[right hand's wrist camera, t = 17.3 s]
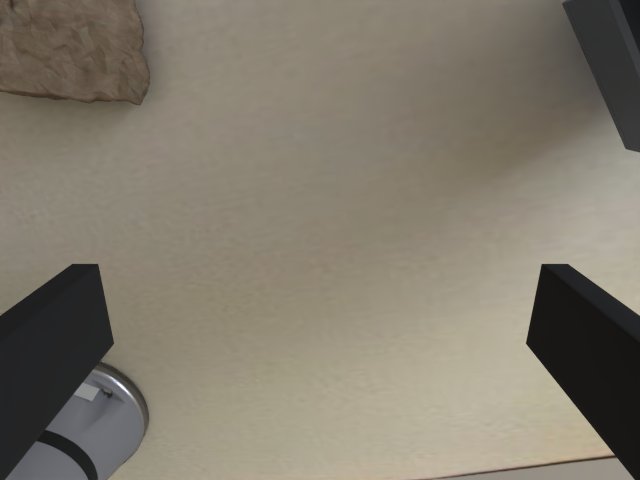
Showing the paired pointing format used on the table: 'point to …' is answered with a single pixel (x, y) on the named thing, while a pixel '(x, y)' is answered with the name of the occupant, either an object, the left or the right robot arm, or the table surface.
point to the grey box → (612, 57)
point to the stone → (73, 50)
